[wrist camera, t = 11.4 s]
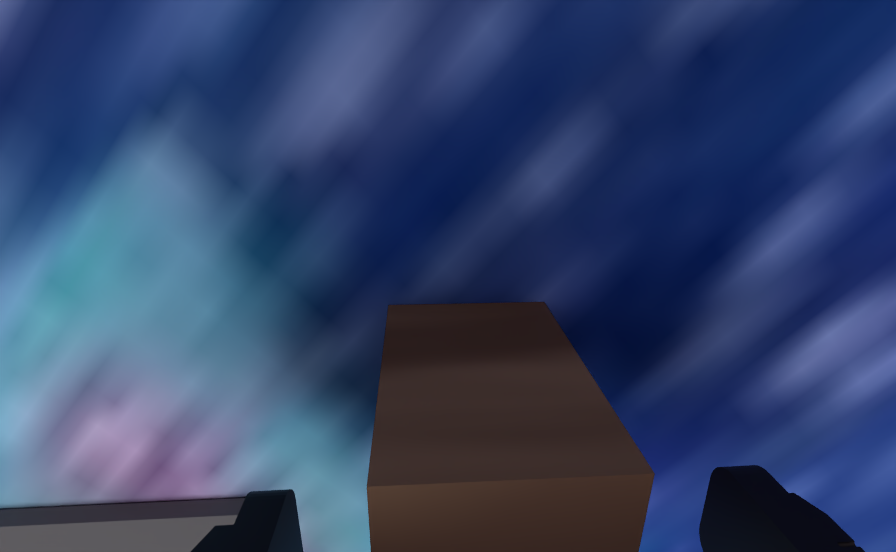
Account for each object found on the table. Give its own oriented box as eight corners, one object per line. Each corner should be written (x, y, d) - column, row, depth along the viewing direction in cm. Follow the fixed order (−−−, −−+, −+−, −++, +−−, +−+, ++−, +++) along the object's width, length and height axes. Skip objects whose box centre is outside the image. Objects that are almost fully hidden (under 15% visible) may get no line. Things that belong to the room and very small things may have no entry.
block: (388, 304, 12) (366, 486, 6) (543, 301, 12) (654, 473, 7) (393, 434, 13) (379, 676, 8) (532, 428, 14) (616, 659, 8)
